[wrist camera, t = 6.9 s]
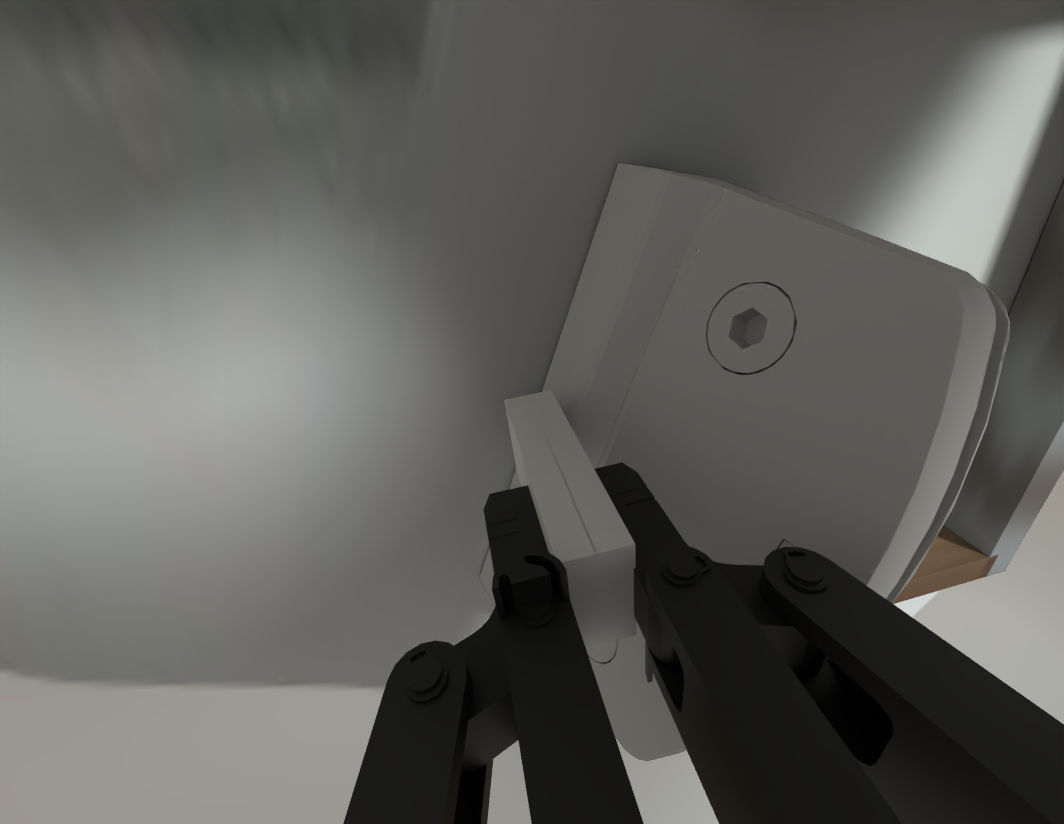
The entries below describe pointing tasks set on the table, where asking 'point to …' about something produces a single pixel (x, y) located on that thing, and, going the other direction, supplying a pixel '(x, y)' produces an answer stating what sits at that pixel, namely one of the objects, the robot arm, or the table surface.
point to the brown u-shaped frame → (1011, 435)
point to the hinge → (769, 391)
